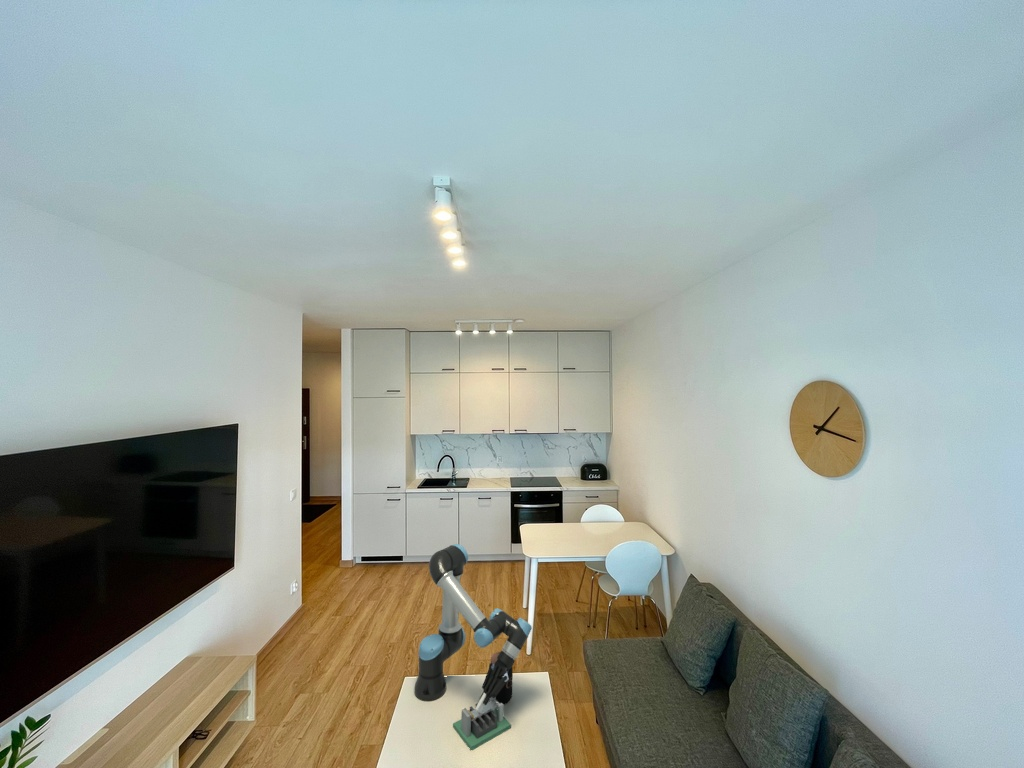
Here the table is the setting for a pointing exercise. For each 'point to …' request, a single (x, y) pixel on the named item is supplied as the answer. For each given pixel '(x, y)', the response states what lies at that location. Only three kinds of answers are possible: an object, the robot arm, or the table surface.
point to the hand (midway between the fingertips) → (478, 710)
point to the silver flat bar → (487, 708)
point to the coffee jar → (506, 691)
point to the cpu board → (481, 726)
